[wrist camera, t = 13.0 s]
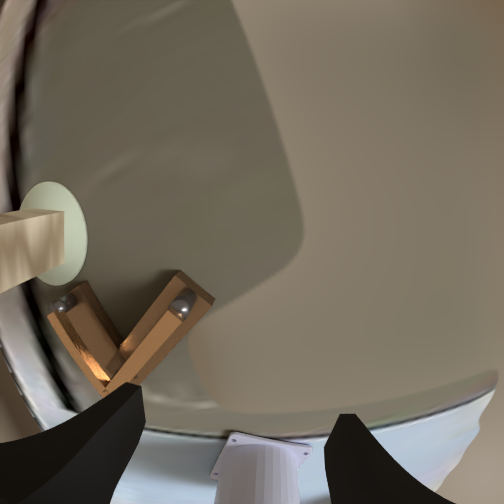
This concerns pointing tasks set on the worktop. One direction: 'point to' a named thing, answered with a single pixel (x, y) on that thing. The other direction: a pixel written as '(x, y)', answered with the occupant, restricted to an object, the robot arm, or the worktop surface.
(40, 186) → the pad
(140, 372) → the copper rod course
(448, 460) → the worktop surface
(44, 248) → the birch handle block
